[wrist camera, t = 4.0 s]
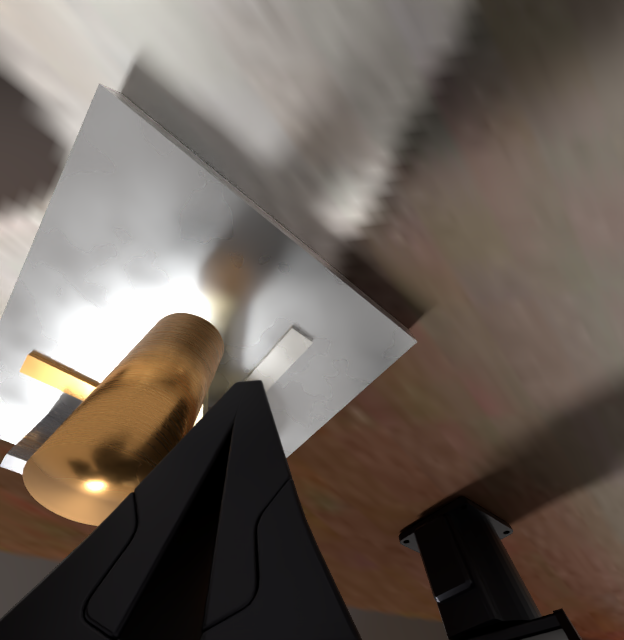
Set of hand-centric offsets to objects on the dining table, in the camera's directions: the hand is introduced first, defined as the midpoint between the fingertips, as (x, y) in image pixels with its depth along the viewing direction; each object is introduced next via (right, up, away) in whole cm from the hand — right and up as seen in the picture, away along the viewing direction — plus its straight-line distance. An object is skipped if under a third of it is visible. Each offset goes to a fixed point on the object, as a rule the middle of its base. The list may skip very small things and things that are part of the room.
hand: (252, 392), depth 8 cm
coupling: (-4, -3, +5) cm, 7 cm away
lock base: (-5, -1, +7) cm, 9 cm away
